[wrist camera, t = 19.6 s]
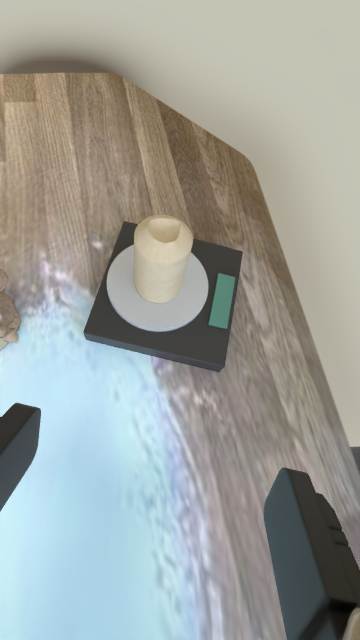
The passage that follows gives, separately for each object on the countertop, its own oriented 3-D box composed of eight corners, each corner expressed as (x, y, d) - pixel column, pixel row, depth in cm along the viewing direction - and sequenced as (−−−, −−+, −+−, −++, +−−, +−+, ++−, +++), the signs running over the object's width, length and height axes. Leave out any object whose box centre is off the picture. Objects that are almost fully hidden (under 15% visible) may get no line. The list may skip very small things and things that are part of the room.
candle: (172, 258, 39) (183, 198, 30) (187, 297, 37) (204, 246, 28) (129, 268, 38) (126, 209, 29) (142, 309, 36) (143, 259, 27)
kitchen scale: (237, 261, 44) (244, 247, 41) (219, 372, 38) (226, 365, 35) (124, 232, 44) (123, 216, 41) (86, 339, 37) (81, 330, 34)
